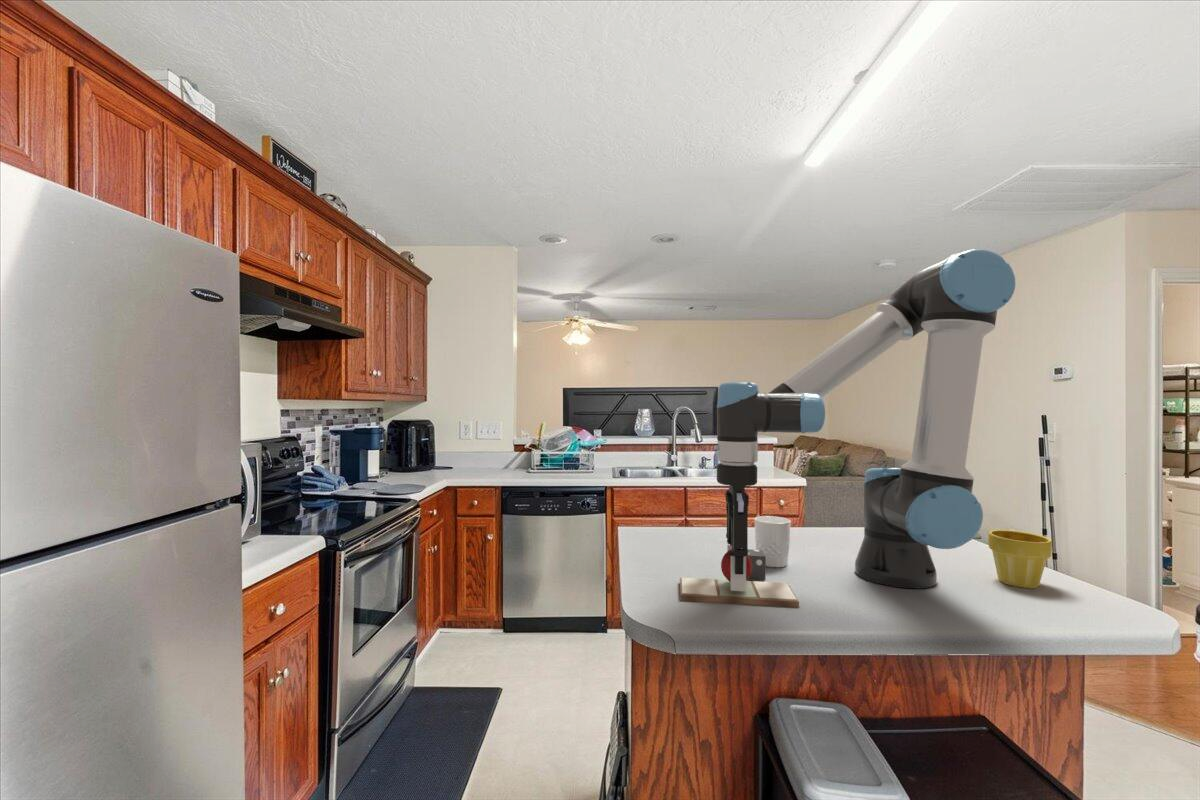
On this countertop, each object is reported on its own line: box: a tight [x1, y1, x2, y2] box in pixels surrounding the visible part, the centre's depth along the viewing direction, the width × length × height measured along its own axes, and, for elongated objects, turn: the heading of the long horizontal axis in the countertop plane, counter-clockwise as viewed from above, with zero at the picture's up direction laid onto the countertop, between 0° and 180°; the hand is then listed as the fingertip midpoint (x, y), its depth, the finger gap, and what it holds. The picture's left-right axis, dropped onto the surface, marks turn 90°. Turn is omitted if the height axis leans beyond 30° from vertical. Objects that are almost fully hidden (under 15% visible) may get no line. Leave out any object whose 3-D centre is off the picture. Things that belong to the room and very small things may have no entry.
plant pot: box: [987, 529, 1053, 589], centre depth 111 cm, size 10×10×10 cm
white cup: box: [754, 515, 792, 568], centre depth 124 cm, size 8×8×10 cm
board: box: [679, 577, 800, 608], centre depth 103 cm, size 21×10×1 cm, turn 82°
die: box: [747, 548, 767, 581], centre depth 115 cm, size 5×5×5 cm
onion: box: [720, 548, 752, 582], centre depth 103 cm, size 6×6×8 cm
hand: (736, 584), depth 103 cm, fingers closed on onion, 6 cm apart
